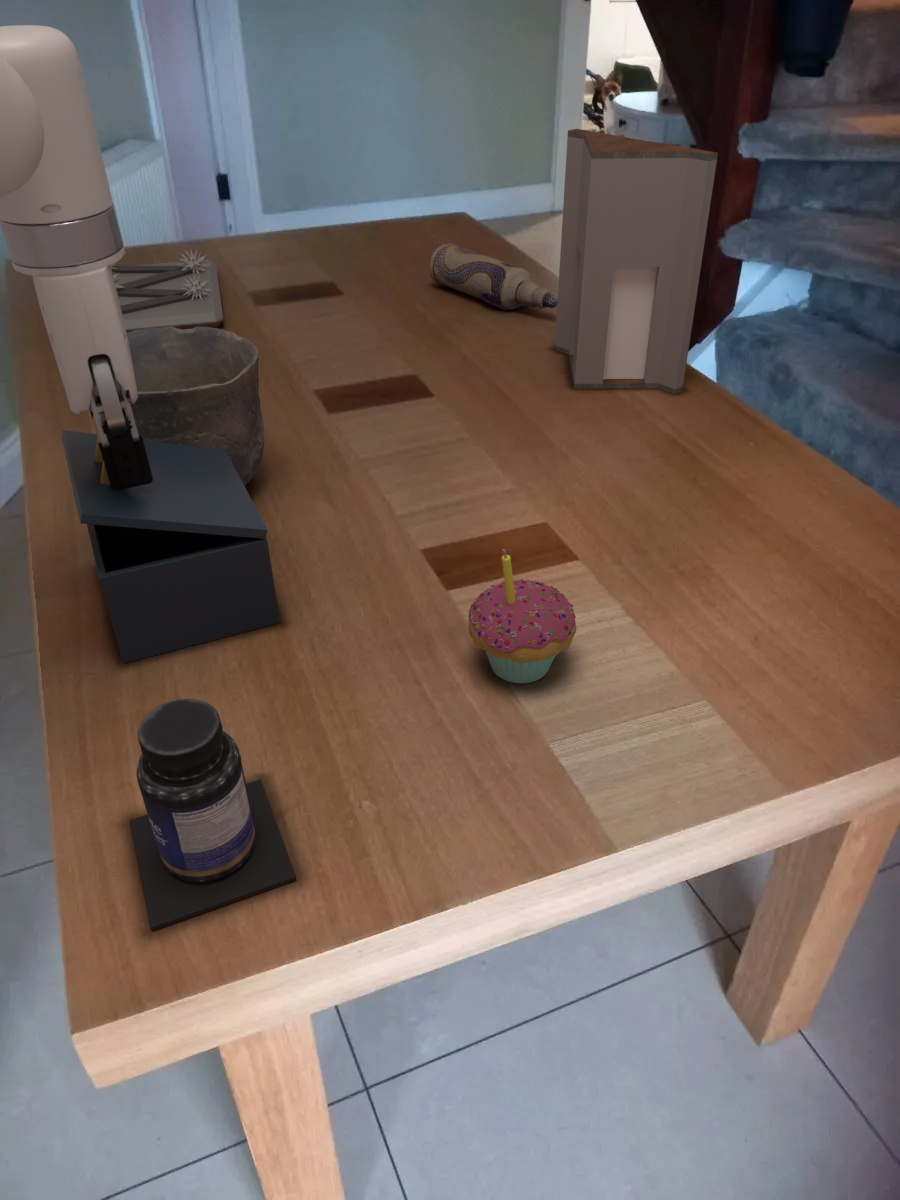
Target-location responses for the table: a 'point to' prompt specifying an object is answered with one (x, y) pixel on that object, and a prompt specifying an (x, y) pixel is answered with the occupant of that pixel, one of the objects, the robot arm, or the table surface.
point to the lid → (163, 490)
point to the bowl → (199, 392)
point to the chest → (181, 587)
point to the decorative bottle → (487, 279)
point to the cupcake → (521, 626)
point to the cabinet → (630, 259)
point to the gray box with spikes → (169, 294)
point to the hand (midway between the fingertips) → (127, 466)
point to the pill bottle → (194, 791)
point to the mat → (188, 899)
